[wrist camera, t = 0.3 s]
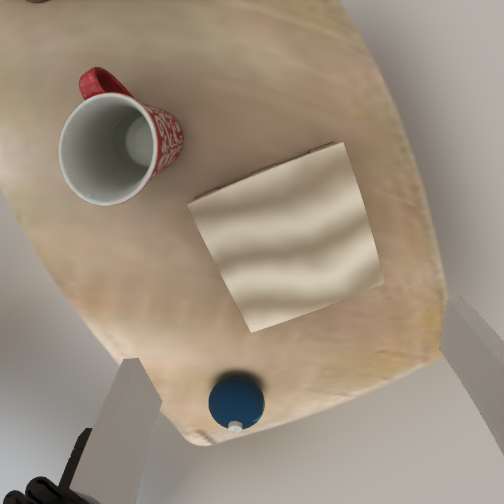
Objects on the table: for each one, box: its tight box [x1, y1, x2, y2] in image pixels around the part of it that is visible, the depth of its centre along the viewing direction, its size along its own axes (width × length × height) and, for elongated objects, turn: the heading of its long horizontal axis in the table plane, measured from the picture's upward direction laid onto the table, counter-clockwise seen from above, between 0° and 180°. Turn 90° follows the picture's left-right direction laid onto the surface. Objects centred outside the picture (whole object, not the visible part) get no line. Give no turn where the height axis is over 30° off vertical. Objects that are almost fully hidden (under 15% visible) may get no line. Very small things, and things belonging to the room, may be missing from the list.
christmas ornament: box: [209, 377, 265, 434], centre depth 43 cm, size 8×8×10 cm
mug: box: [58, 67, 183, 206], centre depth 27 cm, size 13×9×14 cm
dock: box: [187, 142, 384, 333], centre depth 37 cm, size 18×18×3 cm
